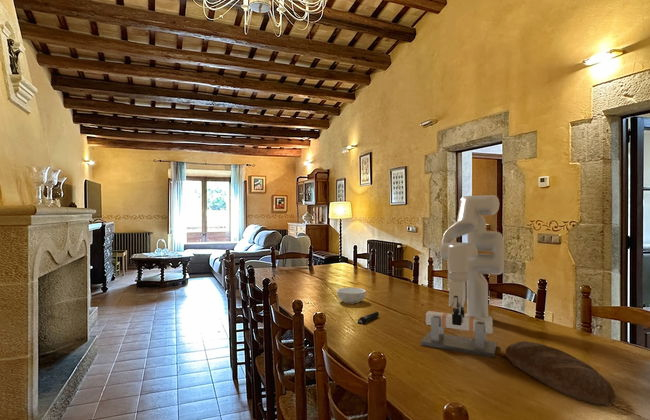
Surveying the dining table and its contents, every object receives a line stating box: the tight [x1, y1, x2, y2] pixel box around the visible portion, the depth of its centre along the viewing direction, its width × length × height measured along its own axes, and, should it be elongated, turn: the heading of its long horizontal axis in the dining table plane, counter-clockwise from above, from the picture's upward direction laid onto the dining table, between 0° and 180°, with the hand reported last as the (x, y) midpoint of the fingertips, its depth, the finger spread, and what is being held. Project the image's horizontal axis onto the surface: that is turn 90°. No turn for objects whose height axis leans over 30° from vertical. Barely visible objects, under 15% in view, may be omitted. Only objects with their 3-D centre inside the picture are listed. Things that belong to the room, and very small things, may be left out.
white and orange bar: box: [425, 310, 494, 335], centre depth 142 cm, size 24×5×5 cm, turn 61°
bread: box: [505, 340, 617, 406], centre depth 114 cm, size 16×36×8 cm, turn 12°
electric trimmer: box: [357, 311, 380, 325], centre depth 176 cm, size 4×16×3 cm, turn 140°
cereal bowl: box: [336, 287, 367, 305], centre depth 211 cm, size 17×17×7 cm
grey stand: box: [420, 317, 498, 359], centre depth 141 cm, size 13×26×10 cm, turn 61°
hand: (458, 321), depth 141 cm, fingers open, 6 cm apart
